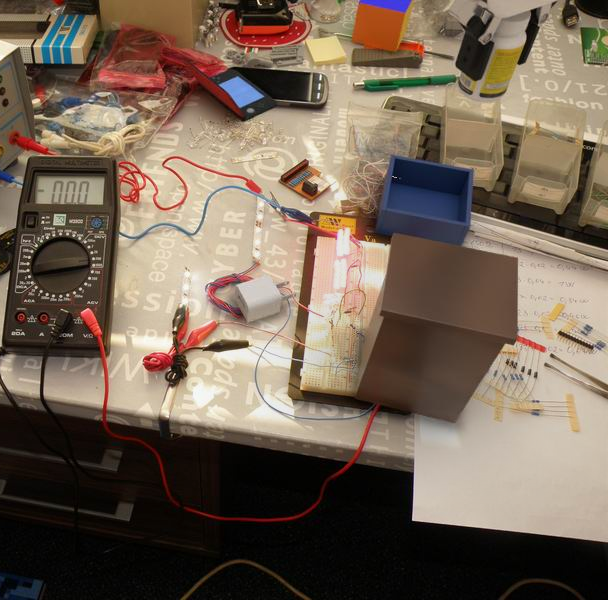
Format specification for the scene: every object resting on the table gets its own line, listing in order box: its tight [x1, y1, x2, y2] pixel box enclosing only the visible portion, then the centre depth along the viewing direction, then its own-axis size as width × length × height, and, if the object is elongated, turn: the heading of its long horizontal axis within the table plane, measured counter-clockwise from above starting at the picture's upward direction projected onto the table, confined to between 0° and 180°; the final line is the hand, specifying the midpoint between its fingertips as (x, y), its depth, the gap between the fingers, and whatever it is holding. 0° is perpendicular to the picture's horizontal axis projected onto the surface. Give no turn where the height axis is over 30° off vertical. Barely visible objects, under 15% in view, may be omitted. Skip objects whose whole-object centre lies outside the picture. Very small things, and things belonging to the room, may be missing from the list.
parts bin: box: [374, 154, 475, 247], centre depth 91 cm, size 11×11×5 cm
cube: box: [351, 0, 415, 53], centre depth 117 cm, size 8×8×8 cm
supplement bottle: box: [457, 9, 531, 103], centre depth 64 cm, size 5×5×8 cm
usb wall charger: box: [234, 274, 297, 324], centre depth 82 cm, size 4×7×4 cm, turn 112°
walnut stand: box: [354, 233, 519, 424], centre depth 70 cm, size 12×10×18 cm
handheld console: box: [181, 56, 278, 123], centre depth 106 cm, size 12×11×7 cm
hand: (490, 63), depth 65 cm, fingers closed on supplement bottle, 4 cm apart
